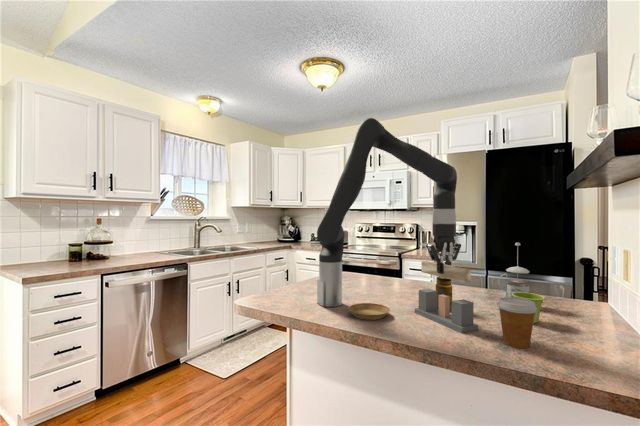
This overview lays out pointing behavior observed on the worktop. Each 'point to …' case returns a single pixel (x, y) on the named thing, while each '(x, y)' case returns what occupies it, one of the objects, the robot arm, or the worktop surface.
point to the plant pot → (534, 298)
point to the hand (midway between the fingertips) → (444, 272)
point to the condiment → (444, 289)
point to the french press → (517, 282)
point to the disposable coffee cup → (517, 321)
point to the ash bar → (447, 271)
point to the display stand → (446, 311)
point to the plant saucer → (369, 311)
